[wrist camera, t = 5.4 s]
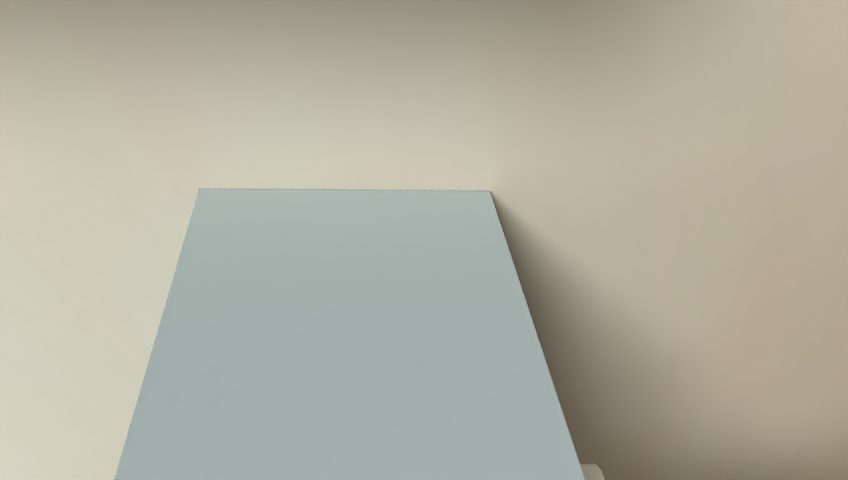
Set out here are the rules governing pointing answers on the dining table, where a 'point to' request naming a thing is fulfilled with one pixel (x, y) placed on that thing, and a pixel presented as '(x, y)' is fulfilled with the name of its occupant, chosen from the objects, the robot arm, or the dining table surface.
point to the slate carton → (347, 346)
